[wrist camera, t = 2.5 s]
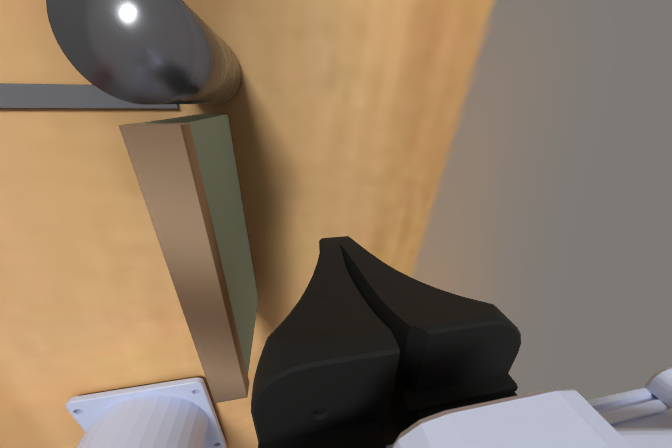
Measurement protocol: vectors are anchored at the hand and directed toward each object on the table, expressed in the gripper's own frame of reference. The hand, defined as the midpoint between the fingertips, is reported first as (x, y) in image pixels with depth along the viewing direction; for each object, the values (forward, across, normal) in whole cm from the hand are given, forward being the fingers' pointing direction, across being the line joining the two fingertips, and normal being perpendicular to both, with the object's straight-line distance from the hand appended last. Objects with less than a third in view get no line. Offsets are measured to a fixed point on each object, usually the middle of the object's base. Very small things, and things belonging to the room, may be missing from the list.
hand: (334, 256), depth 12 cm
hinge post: (+3, +5, -8) cm, 9 cm away
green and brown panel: (+2, +5, -1) cm, 5 cm away
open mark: (+3, +11, -6) cm, 13 cm away
